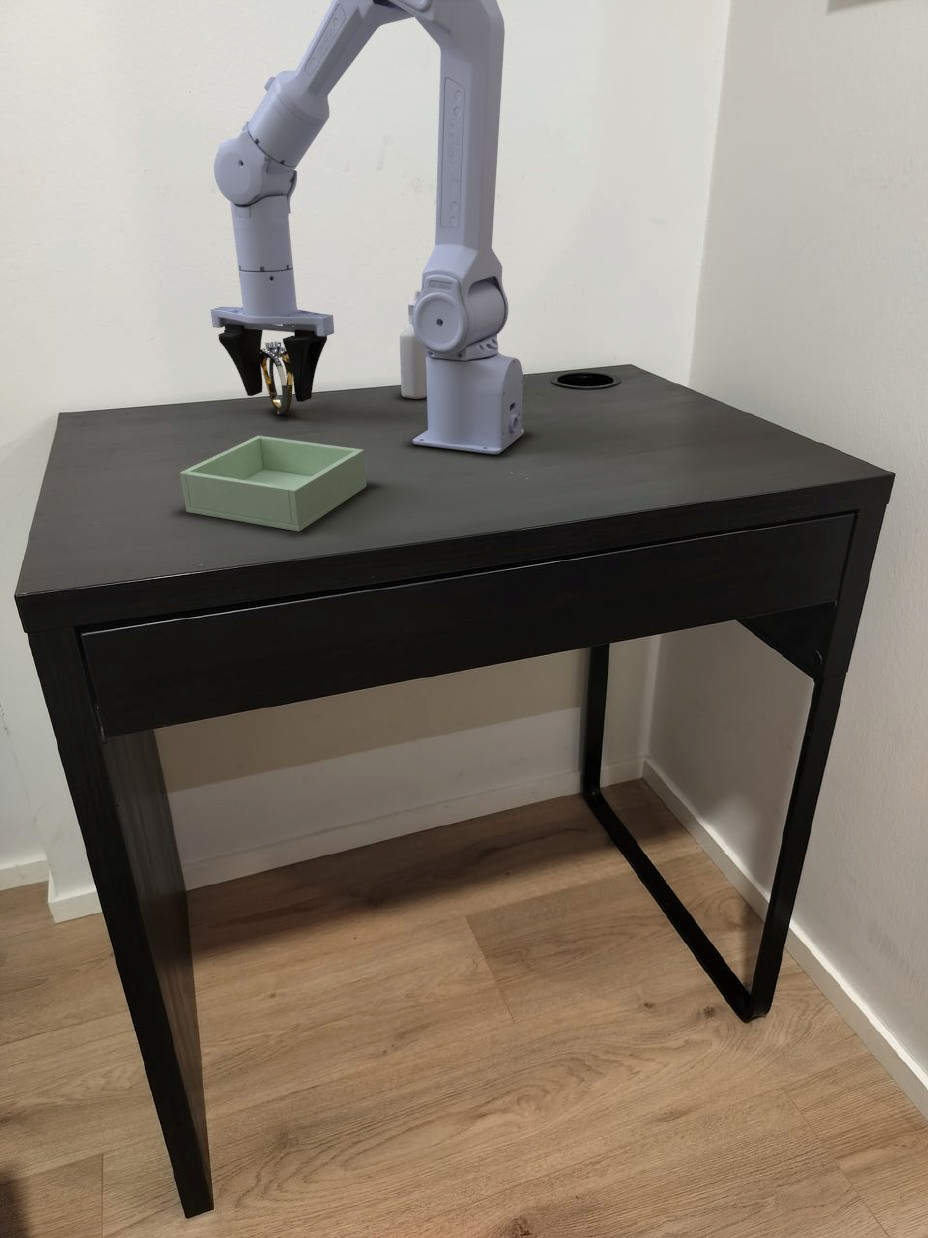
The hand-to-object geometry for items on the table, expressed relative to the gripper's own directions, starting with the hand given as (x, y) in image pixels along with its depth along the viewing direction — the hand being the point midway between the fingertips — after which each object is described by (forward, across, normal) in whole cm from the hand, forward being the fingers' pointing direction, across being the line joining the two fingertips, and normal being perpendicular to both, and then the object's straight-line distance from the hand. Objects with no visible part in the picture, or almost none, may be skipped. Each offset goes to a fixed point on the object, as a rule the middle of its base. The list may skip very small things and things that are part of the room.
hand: (279, 396), depth 100 cm
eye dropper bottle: (+2, -11, -14) cm, 18 cm away
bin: (+2, -15, +23) cm, 28 cm away
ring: (+2, 0, 0) cm, 2 cm away
